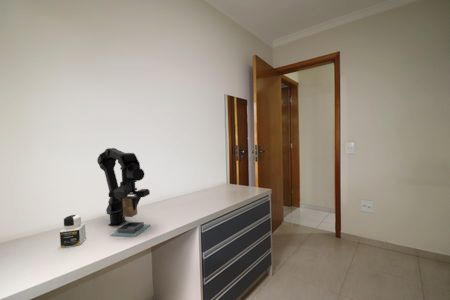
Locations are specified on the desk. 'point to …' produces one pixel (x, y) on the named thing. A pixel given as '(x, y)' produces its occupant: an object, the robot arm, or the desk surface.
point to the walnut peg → (128, 207)
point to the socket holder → (131, 229)
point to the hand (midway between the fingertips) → (130, 210)
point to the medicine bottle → (72, 231)
